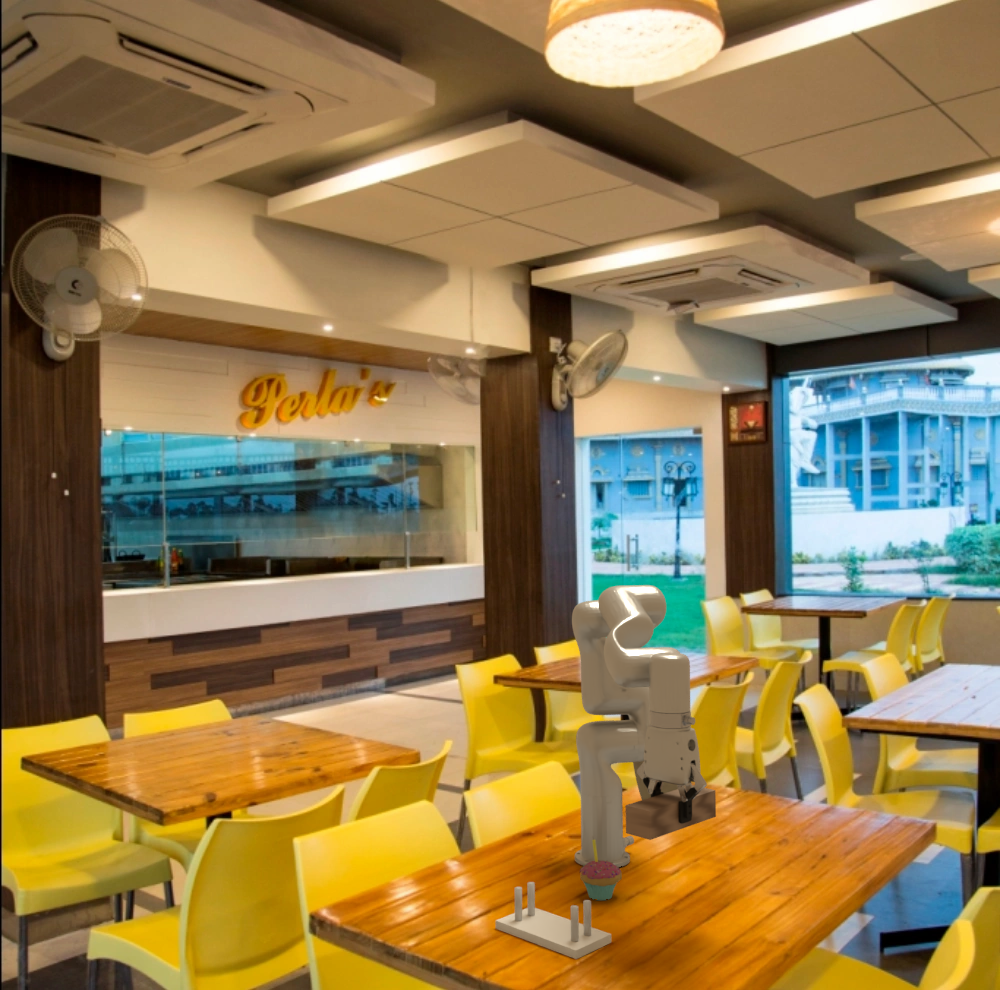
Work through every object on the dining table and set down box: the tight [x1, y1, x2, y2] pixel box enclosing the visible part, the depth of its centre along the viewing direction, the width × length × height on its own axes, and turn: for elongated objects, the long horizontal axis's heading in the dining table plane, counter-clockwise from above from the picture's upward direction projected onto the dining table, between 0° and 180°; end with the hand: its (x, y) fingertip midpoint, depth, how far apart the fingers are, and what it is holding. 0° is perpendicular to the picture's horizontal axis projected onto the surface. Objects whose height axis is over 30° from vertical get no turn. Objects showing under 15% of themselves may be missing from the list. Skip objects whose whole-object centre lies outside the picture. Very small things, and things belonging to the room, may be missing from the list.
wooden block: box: [625, 784, 717, 841], centre depth 185 cm, size 20×6×5 cm, turn 133°
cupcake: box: [579, 836, 623, 901], centre depth 206 cm, size 9×8×12 cm
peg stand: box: [495, 881, 612, 960], centre depth 186 cm, size 20×10×8 cm, turn 46°
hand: (671, 817), depth 185 cm, fingers closed on wooden block, 5 cm apart
